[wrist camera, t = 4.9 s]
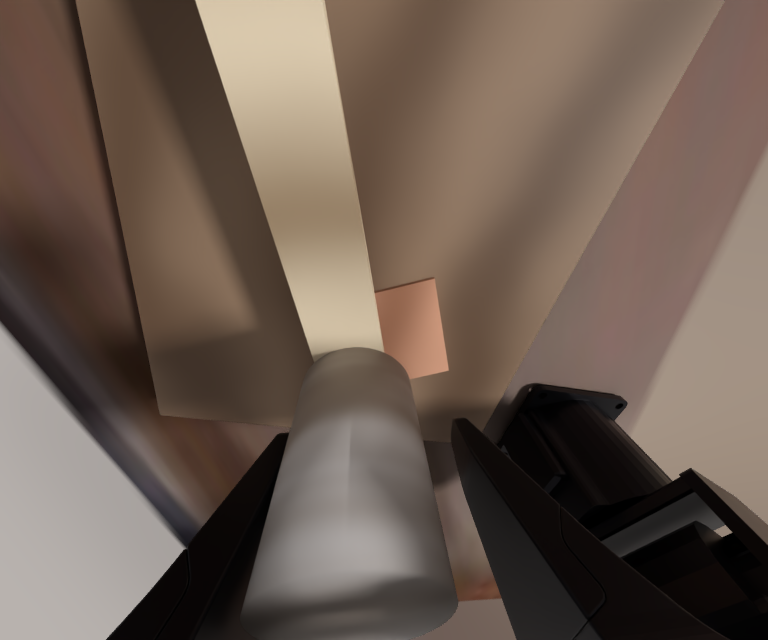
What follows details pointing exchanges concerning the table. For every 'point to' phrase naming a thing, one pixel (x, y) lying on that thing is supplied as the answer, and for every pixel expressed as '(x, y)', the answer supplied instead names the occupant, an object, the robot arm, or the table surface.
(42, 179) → the table surface
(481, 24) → the board
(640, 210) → the table surface
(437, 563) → the grey-ended beige bar
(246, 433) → the table surface
